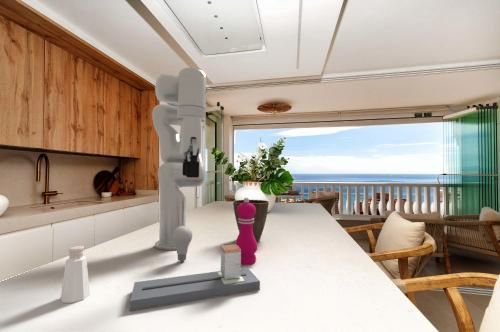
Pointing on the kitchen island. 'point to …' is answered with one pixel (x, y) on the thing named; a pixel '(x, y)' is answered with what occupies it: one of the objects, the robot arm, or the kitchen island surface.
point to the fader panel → (189, 288)
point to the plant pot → (255, 216)
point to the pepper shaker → (75, 277)
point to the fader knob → (230, 261)
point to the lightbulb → (182, 241)
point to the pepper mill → (246, 232)
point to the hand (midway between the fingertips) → (190, 176)
